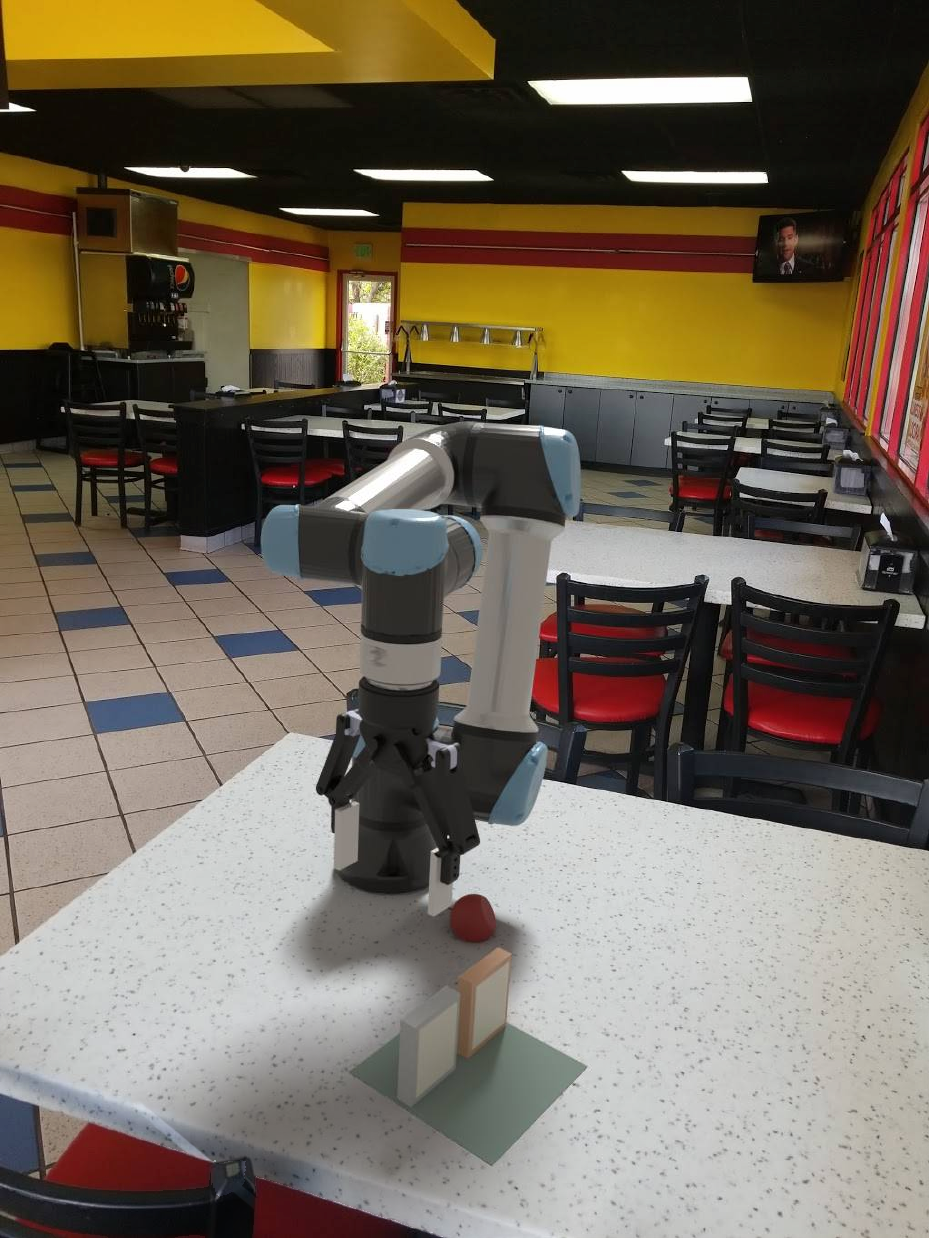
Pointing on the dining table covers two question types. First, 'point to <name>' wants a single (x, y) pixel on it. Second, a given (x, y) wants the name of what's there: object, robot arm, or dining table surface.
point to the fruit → (472, 918)
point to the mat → (483, 1089)
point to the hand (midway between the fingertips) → (390, 886)
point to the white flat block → (428, 1045)
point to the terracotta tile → (483, 1001)
